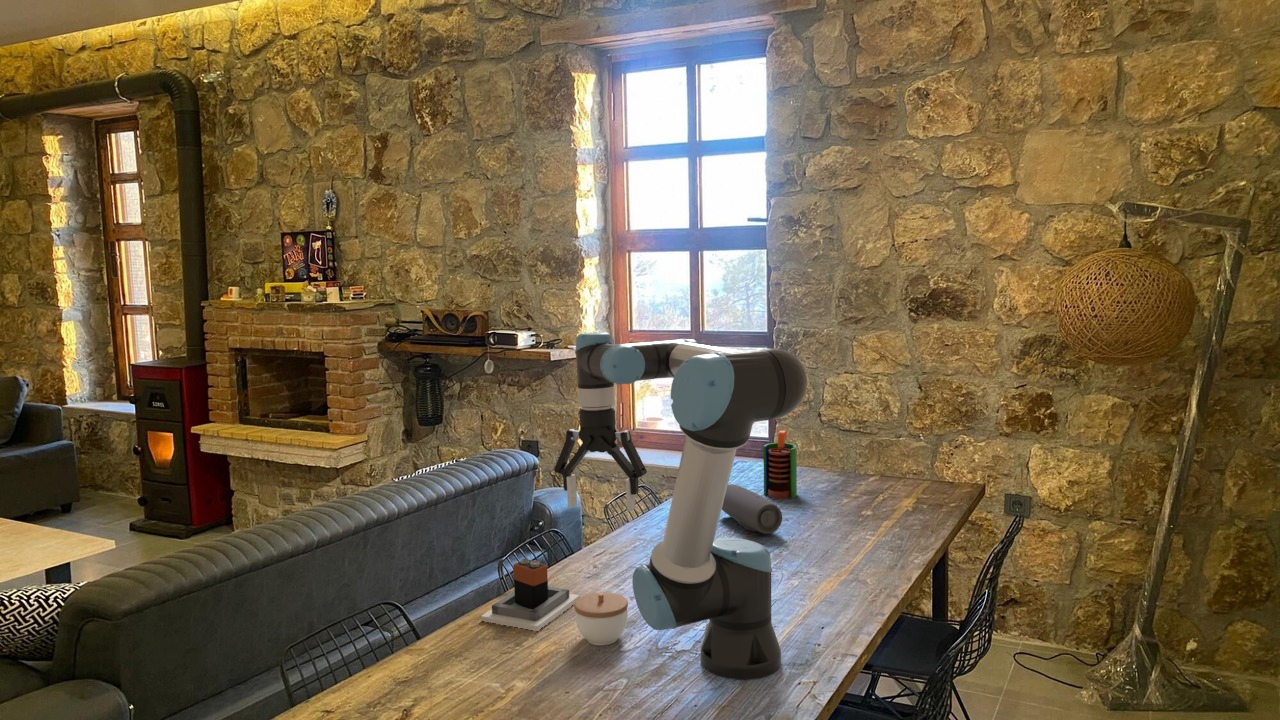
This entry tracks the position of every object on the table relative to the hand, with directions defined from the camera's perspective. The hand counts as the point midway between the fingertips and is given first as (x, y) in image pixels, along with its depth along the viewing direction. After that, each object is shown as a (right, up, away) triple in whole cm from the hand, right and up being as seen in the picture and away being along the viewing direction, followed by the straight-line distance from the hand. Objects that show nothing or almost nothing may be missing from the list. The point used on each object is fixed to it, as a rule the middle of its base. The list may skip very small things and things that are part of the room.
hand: (601, 507), depth 191 cm
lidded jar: (0, -26, -7) cm, 26 cm away
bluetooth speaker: (+39, -16, +64) cm, 76 cm away
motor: (+52, -12, +95) cm, 109 cm away
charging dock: (-16, -24, +8) cm, 30 cm away
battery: (-16, -23, +8) cm, 29 cm away
